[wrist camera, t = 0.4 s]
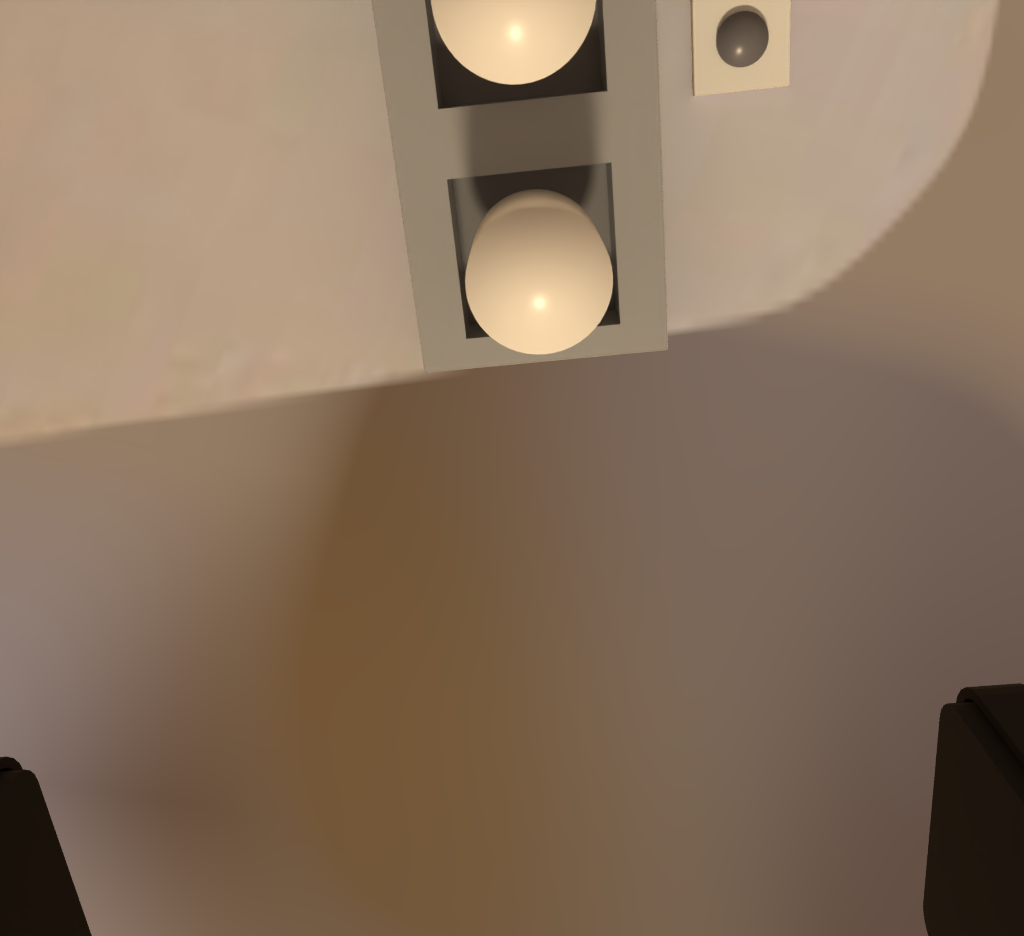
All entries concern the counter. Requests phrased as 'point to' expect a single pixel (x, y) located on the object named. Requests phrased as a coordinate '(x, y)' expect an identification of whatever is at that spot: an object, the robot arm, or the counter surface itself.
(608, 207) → the button board
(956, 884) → the robot arm
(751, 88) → the card
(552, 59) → the button mid
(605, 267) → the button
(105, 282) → the counter surface
